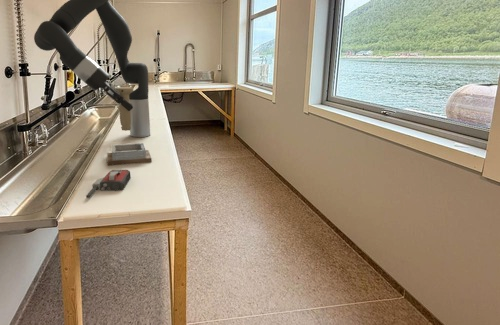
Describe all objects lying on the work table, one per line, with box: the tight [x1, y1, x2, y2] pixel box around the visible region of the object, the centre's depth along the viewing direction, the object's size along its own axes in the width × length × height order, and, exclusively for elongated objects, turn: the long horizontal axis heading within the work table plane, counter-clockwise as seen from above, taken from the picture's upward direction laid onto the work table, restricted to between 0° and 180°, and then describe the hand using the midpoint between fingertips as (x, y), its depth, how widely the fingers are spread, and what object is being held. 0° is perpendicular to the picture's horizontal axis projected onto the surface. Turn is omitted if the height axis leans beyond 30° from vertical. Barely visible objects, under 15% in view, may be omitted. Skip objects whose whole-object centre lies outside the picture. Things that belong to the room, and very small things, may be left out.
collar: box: [111, 142, 147, 161], centre depth 139 cm, size 11×11×3 cm
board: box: [106, 149, 153, 166], centre depth 140 cm, size 12×15×2 cm
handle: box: [115, 86, 134, 132], centre depth 135 cm, size 5×6×15 cm
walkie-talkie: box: [85, 169, 132, 199], centre depth 111 cm, size 9×4×20 cm
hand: (130, 108), depth 135 cm, fingers closed on handle, 3 cm apart
